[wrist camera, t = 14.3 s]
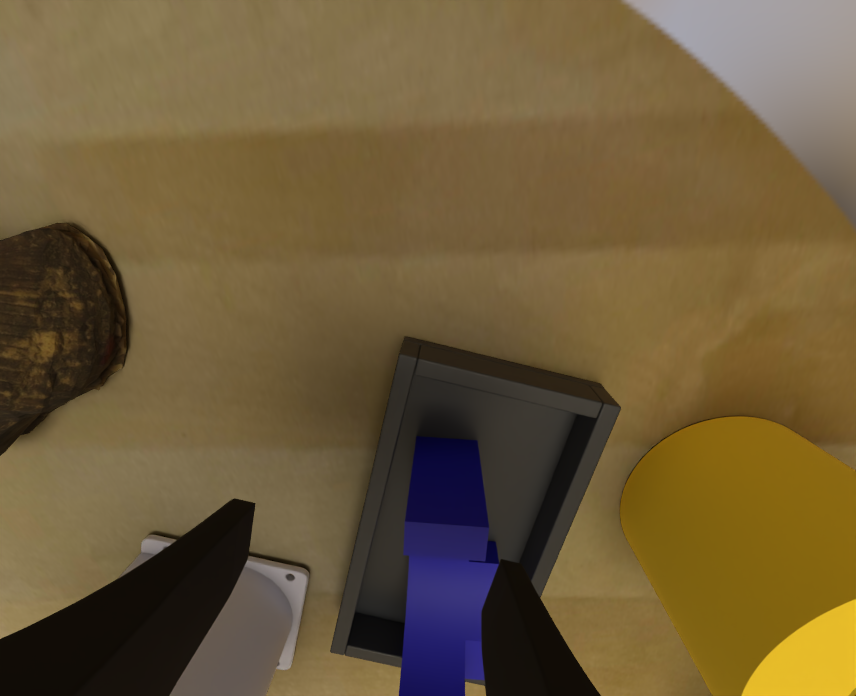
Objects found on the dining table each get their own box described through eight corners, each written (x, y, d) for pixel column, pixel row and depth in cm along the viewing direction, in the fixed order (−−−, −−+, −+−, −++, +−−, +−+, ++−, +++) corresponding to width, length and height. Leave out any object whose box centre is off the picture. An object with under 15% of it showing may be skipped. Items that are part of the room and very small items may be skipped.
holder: (341, 609, 25) (329, 653, 23) (404, 336, 20) (399, 353, 17) (496, 643, 26) (501, 690, 23) (600, 383, 20) (622, 407, 18)
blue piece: (485, 625, 24) (497, 752, 19) (407, 619, 24) (395, 743, 19) (508, 442, 21) (531, 530, 15) (416, 436, 21) (404, 521, 15)
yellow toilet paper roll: (864, 448, 21) (1188, 632, 12) (757, 597, 24) (948, 834, 15) (673, 392, 20) (856, 538, 11) (590, 552, 23) (680, 767, 14)
